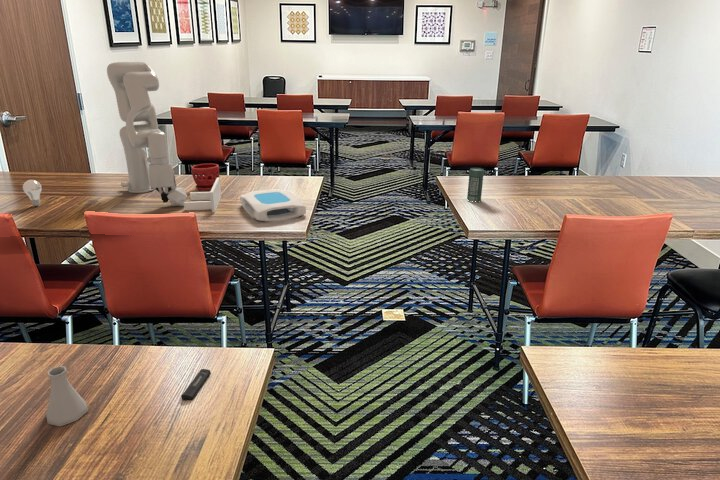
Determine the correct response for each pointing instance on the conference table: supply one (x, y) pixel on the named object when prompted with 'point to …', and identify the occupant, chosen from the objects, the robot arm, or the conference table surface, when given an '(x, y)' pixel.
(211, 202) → the two-post plank stand
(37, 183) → the light bulb
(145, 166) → the robot arm
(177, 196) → the die
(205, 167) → the plant pot
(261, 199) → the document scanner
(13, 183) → the conference table surface
